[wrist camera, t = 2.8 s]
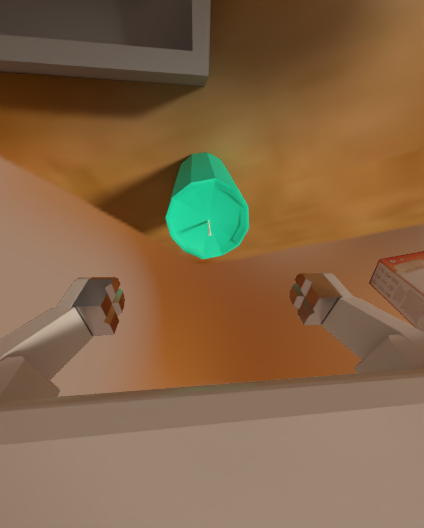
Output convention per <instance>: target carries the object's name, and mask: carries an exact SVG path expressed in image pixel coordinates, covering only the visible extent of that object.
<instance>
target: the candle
mask: <svg viewBox="0 0 424 528" xmlns="http://www.w3.org/2000/svg"><path fill="white" fill-rule="evenodd" d="M166 222H167V225H168V229H169V232H170V235H171V237H172V238H173V239H174V241H175V242H176V243H177V244H178V245H179V246H180V247H181V248H182V249H183V250H184V251H185V252H187V253H190V254H192V255H194V256H197V257H199V258H202V259H206V258H212V257H217V256H222V255H224V254H226V253H227V252H229V251H231V250H232V249H234V248H236V247H238V246H239V245H240V243H241V241H242V240H243V238H244V236H245V234H246V233H247V231H248V229H249V213H248V205H247V203H246V201H245V200H244V198H243V196H242V195H241V193H240V191H239V189H238V188H237V186H236V184H235V183H234V181H233V179H232V178H231V176H230V174H229V172H228V171H227V169H226V167H225V166H224V164H223V163H222V161H221V159H219V158H217V157H215V156H213V155H211V154H209V153H207V152H205V153H197V154H192V155H191V156H189V157H188V158H187V159H186V160H185V161H184V162H183V163H181V165H180V168H179V171H178V175H177V178H176V181H175V185H174V189H173V192H172V196H171V200H170V203H169V207H168V211H167V214H166Z"/></svg>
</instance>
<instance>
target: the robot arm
mask: <svg viewBox="0 0 424 528" xmlns="http://www.w3.org/2000/svg"><path fill="white" fill-rule="evenodd" d="M295 281H296V284H294V285H293V286H292V288H291V290H290V299H291V302H292V304H293V305H294V306H295V307H296V308H298V315H299V317H300V319H301V321H302V322H303V324H304V325H322V326H323V327H324V328H325V329H326V330H327V331H329V332H330V333H331V334H332V335H333V336H334V337H336V338H337V339H338V340H339V341H341V342H342V343H343V344H344V345H345V346H346V347H347V348H349V349H350V350H351V351H352V352H353V353H354V354H356V355H357V356H358V357H359V358H360V359H362V360H361V361H360V362H359V363H358V364H357V365H356V366H355V370H356V372H357V373H358V374H346V375H332V376H319V377H306V378H295V379H282V380H281V379H280V380H268V381H255V382H242V383H229V384H218V385H217V384H216V385H203V386H191V387H178V388H166V389H152V390H140V391H126V392H113V393H101V394H88V395H75V396H62V397H57V396H58V394H59V392H60V390H59V388H58V387H57V386H56V385H55V384H54V383H52V382H51V381H50V380H51V379H52V378H53V377H54V376H55V375H56V373H58V372H59V371H60V370H61V368H63V367H64V365H66V364H67V363H68V362H69V361H70V360H71V359H72V357H74V355H76V354H77V353H78V351H80V349H82V347H83V346H85V344H87V342H89V341H90V340H91V338H93V337H92V336H101V335H114V334H115V331H116V328H117V325H118V323H119V319H118V317H117V316H118V315H119V314H120V313H122V311H123V308H124V302H125V299H124V294H123V291H121V290H120V289H119V286H120V282H119V280H118V278H115V277H110V278H109V277H98V278H97V277H92V278H78V279H76V280H75V281H74V283H73V284H72V285H71V287H70V288H69V290H68V291H67V292H66V294H65V295H64V296H63V298H62V299H61V301H60V302H59V304H58V305H57V306H56V308H51V309H49V310H47V311H46V312H44V313H43V314H41V315H39V316H37V317H36V318H34V319H33V320H31V321H29V322H28V323H26V324H24V325H23V326H21V327H19V328H18V329H16V330H15V331H13V332H11V333H10V334H8V335H6V336H5V337H3V338H1V339H0V528H424V332H422V331H420V330H419V329H417V328H415V327H413V326H411V325H409V324H407V323H405V322H403V321H402V320H400V319H398V318H396V317H394V316H392V315H390V314H388V313H386V312H385V311H383V310H381V309H379V308H377V307H375V306H373V305H372V304H370V303H368V302H366V301H364V300H362V299H360V298H358V297H354V296H353V295H352V294H351V293H350V292H349V291H348V290H347V288H346V287H345V286H344V285H343V284H342V283H341V282H340V281H339V280H338V279H337V277H336V276H335V275H334V274H333V273H330V272H324V273H323V272H322V273H299V274H298V275H297V276H296V278H295Z"/></svg>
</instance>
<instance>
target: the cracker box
mask: <svg viewBox="0 0 424 528" xmlns="http://www.w3.org/2000/svg"><path fill="white" fill-rule="evenodd" d="M369 284H370V285H372V286H373V287H374V289H376V290H377V291H378V292H379V293H380V294H381V295H382V296H383V297H384V298H385V299H386V300H387V301H388V302H389V303H390V304H391V305H392V306H393V307H394V308H395V309H396V310H397V311H398V312H399V313H400V314H401V315H402V316H404V318H405V319H407V320H408V321H409V322H410V323H411V324H412V325H413V326H414V327H415V328H417V329H419V330H420V331H422V332H424V251H423V252H417V253H412V254H406V255H401V256H395V257H390V258H385V259H380V260H379V261H378V264H377V266H376V268H375V271H374V273H373V275H372V277H371V280H370V282H369Z"/></svg>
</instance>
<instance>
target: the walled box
mask: <svg viewBox="0 0 424 528" xmlns="http://www.w3.org/2000/svg"><path fill="white" fill-rule="evenodd" d="M210 11H211V0H0V72H9V73H23V74H37V75H51V76H65V77H79V78H93V79H107V80H121V81H135V82H150V83H164V84H178V85H192V86H205V84H206V82H207V79H208V77H209V50H210Z"/></svg>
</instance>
